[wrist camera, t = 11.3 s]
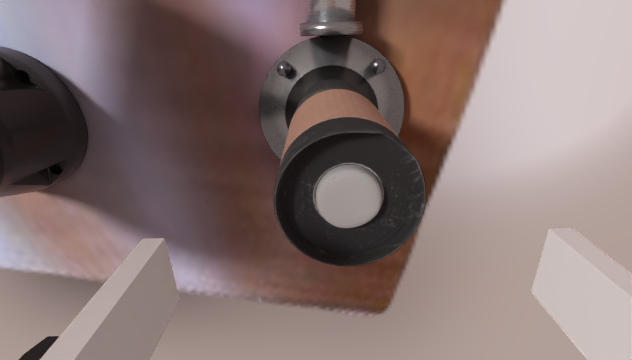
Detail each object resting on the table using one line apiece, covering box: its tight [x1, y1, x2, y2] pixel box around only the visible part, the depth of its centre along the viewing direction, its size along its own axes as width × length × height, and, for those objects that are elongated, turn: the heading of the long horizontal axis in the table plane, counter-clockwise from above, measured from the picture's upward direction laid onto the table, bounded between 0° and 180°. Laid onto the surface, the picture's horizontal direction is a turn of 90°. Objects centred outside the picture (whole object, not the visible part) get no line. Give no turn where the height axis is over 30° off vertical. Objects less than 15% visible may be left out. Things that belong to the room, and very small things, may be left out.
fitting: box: [259, 0, 404, 160], centre depth 32 cm, size 15×22×6 cm
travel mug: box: [274, 79, 426, 266], centre depth 25 cm, size 8×8×20 cm
